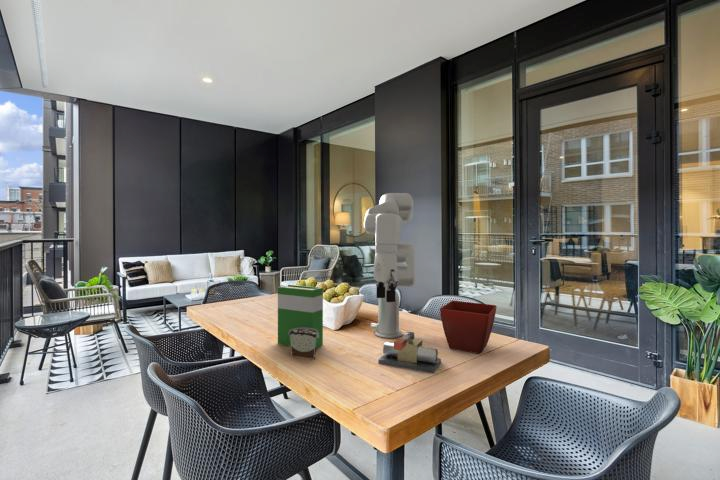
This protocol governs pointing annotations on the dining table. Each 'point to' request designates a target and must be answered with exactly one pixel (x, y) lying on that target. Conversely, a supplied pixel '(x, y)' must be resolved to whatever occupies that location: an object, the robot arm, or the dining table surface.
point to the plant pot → (467, 325)
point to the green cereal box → (299, 311)
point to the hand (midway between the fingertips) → (385, 299)
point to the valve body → (411, 356)
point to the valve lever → (403, 341)
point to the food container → (303, 342)
